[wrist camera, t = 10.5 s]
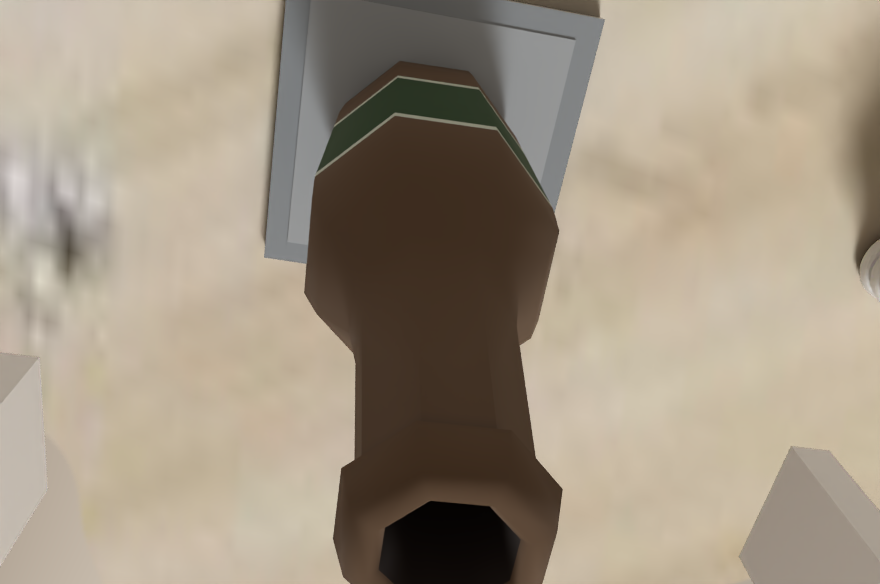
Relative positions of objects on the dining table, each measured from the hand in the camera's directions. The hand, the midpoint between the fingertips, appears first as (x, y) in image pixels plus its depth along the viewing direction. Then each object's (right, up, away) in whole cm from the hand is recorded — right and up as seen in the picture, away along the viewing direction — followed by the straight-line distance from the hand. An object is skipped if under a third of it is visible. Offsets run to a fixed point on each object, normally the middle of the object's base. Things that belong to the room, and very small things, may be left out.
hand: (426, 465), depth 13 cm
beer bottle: (-1, +10, +20) cm, 22 cm away
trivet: (-1, +10, +20) cm, 23 cm away
